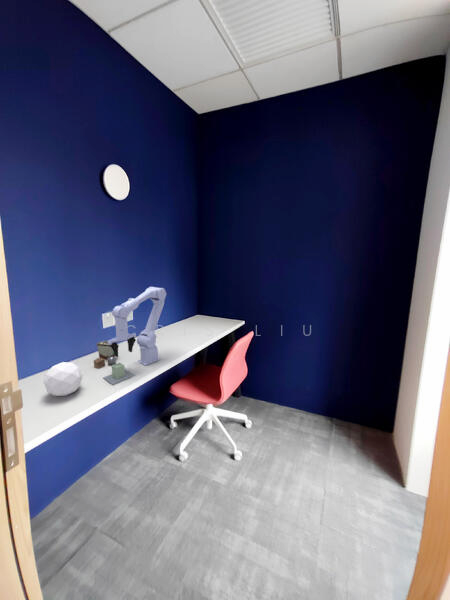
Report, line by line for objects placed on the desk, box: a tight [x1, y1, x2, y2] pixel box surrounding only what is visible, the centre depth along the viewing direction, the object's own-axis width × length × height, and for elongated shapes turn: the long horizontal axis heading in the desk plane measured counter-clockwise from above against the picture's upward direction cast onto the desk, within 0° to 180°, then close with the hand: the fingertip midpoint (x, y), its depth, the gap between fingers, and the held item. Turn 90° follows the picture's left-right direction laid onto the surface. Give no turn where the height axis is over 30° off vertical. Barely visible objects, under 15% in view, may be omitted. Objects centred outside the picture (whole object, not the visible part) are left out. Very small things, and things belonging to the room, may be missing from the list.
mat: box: [102, 368, 136, 386], centre depth 130 cm, size 12×10×1 cm
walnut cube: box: [93, 357, 106, 370], centre depth 141 cm, size 4×4×4 cm
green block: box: [111, 362, 126, 379], centre depth 129 cm, size 4×4×6 cm
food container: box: [96, 340, 116, 361], centre depth 151 cm, size 12×6×10 cm, turn 74°
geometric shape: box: [43, 361, 83, 397], centre depth 114 cm, size 14×15×15 cm
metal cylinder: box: [107, 356, 117, 366], centre depth 144 cm, size 4×4×4 cm
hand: (123, 353), depth 133 cm, fingers open, 7 cm apart
